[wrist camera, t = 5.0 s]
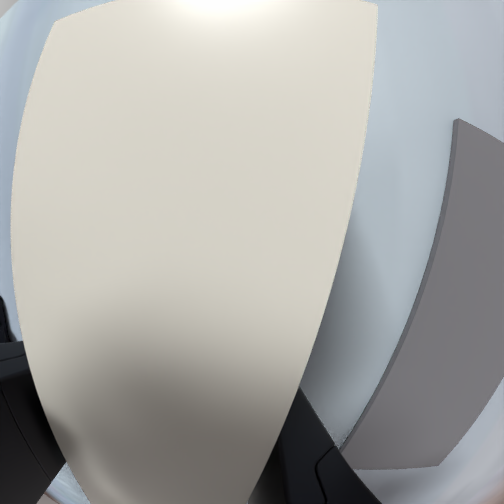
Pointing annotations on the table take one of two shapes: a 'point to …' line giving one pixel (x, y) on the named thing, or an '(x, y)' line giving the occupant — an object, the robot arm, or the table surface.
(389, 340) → the table surface
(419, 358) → the rest mat
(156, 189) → the bar
